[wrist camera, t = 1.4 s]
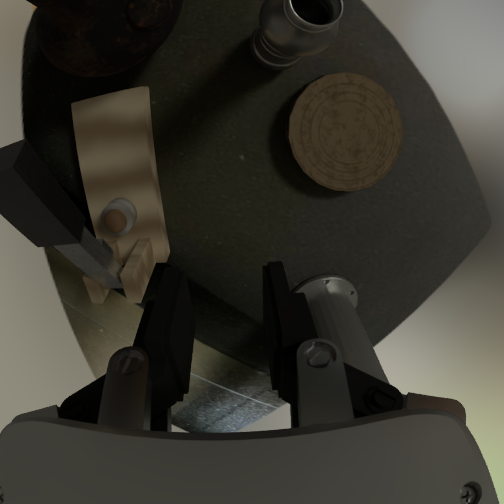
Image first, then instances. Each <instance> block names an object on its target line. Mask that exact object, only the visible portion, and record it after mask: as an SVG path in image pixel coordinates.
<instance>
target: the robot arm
mask: <svg viewBox="0 0 504 504" xmlns="http://www.w3.org/2000/svg"><path fill="white" fill-rule="evenodd" d="M357 299H358V298H357V293H356V290H355V288H354V286H353V285H352V284H351V282H350V281H349V280H347V279H345V278H344V277H341V276H338V275H321V276H316V277H314V278H311V279H309V280H307V281H305V282H303V283H302V284H301V285H299V286H298V287H297V288H296V289H295V290H294V291H293V293H290V289H289V286H288V282H287V278H286V274H285V271H284V267H283V263H282V261H277V262H268V266H263V321H264V330H265V338H266V345H267V353H268V361H269V369H270V376H271V384H272V390H278V395H279V398H282V400H284V401H286V402H287V403H289V404H290V414H291V428H289V429H279V430H268V431H253V432H232V433H184V432H183V433H182V432H171V406H173V405H174V404H175V403H176V402H177V401H183V396H184V394H188V392H189V382H190V372H191V362H192V353H193V344H194V335H195V319H194V314H193V309H192V304H191V299H190V294H189V288H188V283H187V278H186V273H185V271H184V270H183V271H181V270H180V267H171V268H165V271H164V274H163V277H162V280H161V283H160V286H159V289H158V292H157V295H156V299H155V300H149V301H147V303H146V306H145V309H144V312H143V315H142V318H141V321H140V324H139V327H138V330H137V334H136V337H135V340H134V343H133V346H129V347H124V348H122V349H119V350H118V351H117V352H115V353H114V354H113V355H112V356H111V358H110V360H109V363H108V368H107V373H106V374H105V375H103V376H102V377H100V378H98V379H97V380H95V381H94V382H92V383H90V384H89V385H87V386H86V387H84V388H82V389H81V390H79V391H77V392H76V393H74V394H72V395H71V396H69V397H68V398H66V399H65V400H64V401H63V403H62V404H61V406H60V407H58V406H57V405H53V406H50V407H46V408H43V409H39V410H35V411H31V412H28V413H24V414H20V415H18V416H16V417H15V418H14V419H13V420H12V422H11V423H9V424H8V425H7V426H6V427H5V428H4V429H3V430H2V432H1V433H0V504H499V501H498V498H497V494H496V491H495V488H494V485H493V482H492V479H491V476H490V473H489V470H488V467H487V465H486V463H485V460H484V458H483V456H482V453H481V451H480V449H479V447H478V445H477V443H476V441H475V439H474V437H473V435H472V434H471V432H470V431H469V429H468V427H467V426H466V413H465V408H464V407H463V406H462V404H461V403H460V402H458V401H457V400H454V399H449V398H441V397H434V396H427V395H422V394H415V393H410V392H408V394H407V395H404V394H401V392H399V390H398V389H397V388H395V387H394V386H392V385H390V384H389V382H388V380H387V377H386V375H385V374H384V371H383V369H382V367H381V365H380V362H379V360H378V358H377V356H376V353H375V351H374V349H373V347H372V344H371V342H370V340H369V338H368V336H367V334H366V331H365V329H364V327H363V325H362V323H361V321H360V319H359V317H358V315H357V313H356V311H355V308H356V305H357Z"/></svg>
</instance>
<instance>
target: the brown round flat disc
mask: <svg viewBox="0 0 504 504" xmlns="http://www.w3.org/2000/svg"><path fill="white" fill-rule="evenodd" d="M285 136H286V139H287V143H288V147H289V150H290V153H291V154H292V156H293V157H294V159H295V161H296V162H297V164H298V165H299V167H300V168H301V169H302V170H303V171H304V172H305V173H306V174H307V175H308V176H309V177H311V178H312V179H313V180H314V181H316V182H317V183H318V184H320V185H323V186H325V187H328V188H330V189H333V190H338V191H355V190H359V189H363V188H366V187H369V186H371V185H372V184H374V183H376V182H377V181H379V180H380V179H382V178H383V177H384V176H385V175H386V174H387V173H388V171H389V170H390V169H391V168H392V167H393V165H394V164H395V161H396V159H397V157H398V155H399V152H400V150H401V145H402V137H403V128H402V121H401V115H400V113H399V110H398V108H397V106H396V104H395V102H394V100H393V98H392V97H391V96H390V95H389V94H388V93H387V91H386V90H385V89H384V88H383V87H382V86H381V85H380V84H378V83H376V82H375V81H373V80H371V79H369V78H367V77H366V76H364V75H359V74H353V73H348V72H342V73H336V74H330V75H324V76H320V77H318V78H316V79H314V80H313V81H311V82H309V83H307V84H306V85H304V86H303V88H302V89H301V90H300V91H299V92H298V93H297V95H296V96H295V97H294V98H293V100H292V102H291V105H290V107H289V110H288V112H287V115H286V128H285Z"/></svg>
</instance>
